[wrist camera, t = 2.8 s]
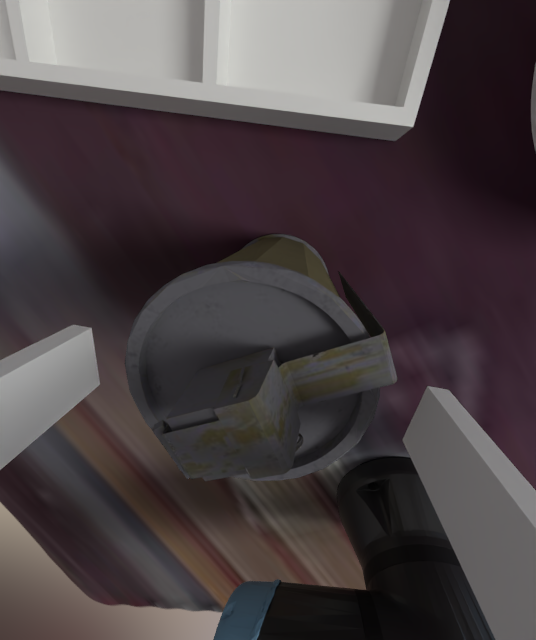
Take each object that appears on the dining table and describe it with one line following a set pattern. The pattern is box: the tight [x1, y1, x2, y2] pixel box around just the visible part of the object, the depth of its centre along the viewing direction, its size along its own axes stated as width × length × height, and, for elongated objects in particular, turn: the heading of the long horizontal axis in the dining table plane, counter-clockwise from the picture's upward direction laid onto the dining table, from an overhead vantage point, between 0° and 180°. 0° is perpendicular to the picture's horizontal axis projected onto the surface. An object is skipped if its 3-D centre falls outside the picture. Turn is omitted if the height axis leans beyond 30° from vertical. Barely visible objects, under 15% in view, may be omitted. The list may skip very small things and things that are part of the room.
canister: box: [125, 234, 397, 481], centre depth 17 cm, size 11×10×20 cm
